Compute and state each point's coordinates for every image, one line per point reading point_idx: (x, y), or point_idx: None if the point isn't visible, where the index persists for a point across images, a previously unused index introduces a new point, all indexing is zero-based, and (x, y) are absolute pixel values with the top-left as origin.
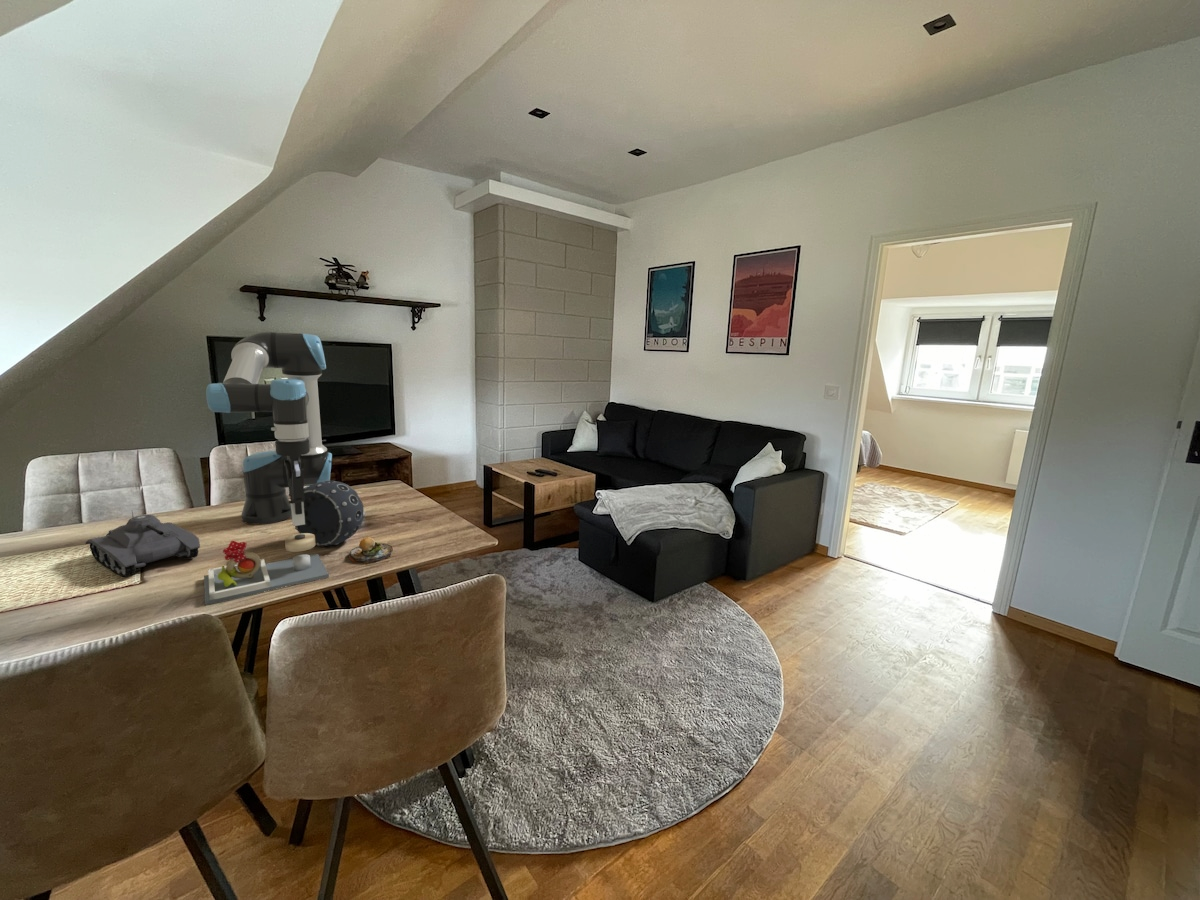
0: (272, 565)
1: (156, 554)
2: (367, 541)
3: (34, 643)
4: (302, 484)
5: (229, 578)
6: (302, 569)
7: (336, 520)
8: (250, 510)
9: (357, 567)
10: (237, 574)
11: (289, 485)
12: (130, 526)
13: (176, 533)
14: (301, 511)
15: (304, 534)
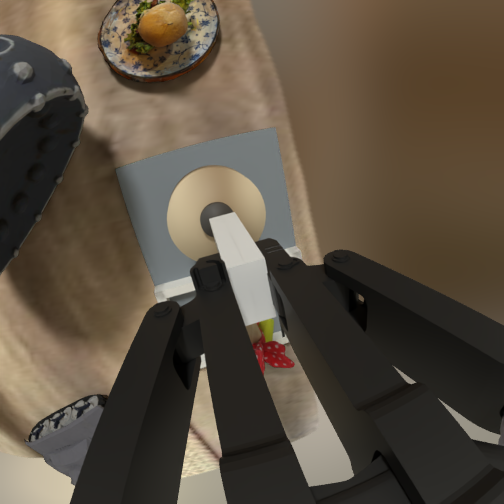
0: (170, 266)
1: None
2: (176, 17)
3: (312, 425)
4: (465, 315)
5: (268, 327)
6: None
7: (24, 125)
8: None
9: (234, 61)
10: None
11: (190, 414)
12: None
13: (75, 440)
14: (277, 244)
15: (181, 208)
